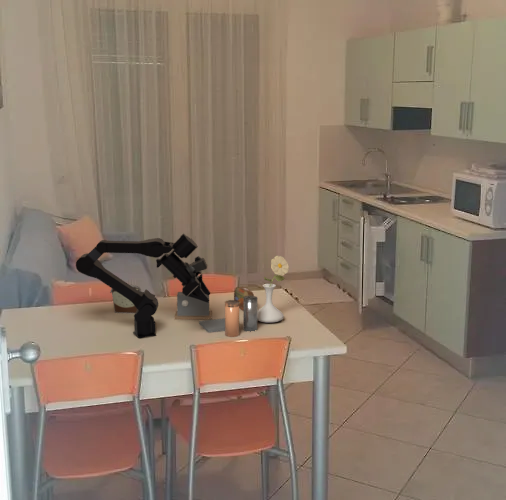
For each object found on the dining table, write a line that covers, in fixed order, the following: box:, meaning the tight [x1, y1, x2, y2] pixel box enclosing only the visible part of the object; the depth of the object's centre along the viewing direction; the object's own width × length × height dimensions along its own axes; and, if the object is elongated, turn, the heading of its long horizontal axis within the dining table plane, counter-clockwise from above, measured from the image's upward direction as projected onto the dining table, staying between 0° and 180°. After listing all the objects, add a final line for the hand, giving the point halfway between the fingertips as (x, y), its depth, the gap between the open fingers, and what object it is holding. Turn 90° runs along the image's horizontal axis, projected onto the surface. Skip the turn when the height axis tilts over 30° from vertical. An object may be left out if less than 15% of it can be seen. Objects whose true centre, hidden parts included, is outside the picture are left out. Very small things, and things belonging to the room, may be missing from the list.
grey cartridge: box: [242, 295, 258, 333], centre depth 250 cm, size 5×5×12 cm
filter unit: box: [174, 291, 213, 321], centre depth 265 cm, size 14×8×9 cm, turn 92°
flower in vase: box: [257, 255, 290, 323], centre depth 259 cm, size 13×11×25 cm
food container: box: [109, 284, 143, 315], centre depth 271 cm, size 12×6×10 cm, turn 84°
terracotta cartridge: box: [224, 299, 240, 338], centre depth 244 cm, size 5×5×12 cm
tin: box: [233, 286, 255, 312], centre depth 275 cm, size 15×3×8 cm, turn 25°
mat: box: [198, 317, 225, 334], centre depth 254 cm, size 11×11×1 cm
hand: (209, 297), depth 242 cm, fingers open, 9 cm apart
